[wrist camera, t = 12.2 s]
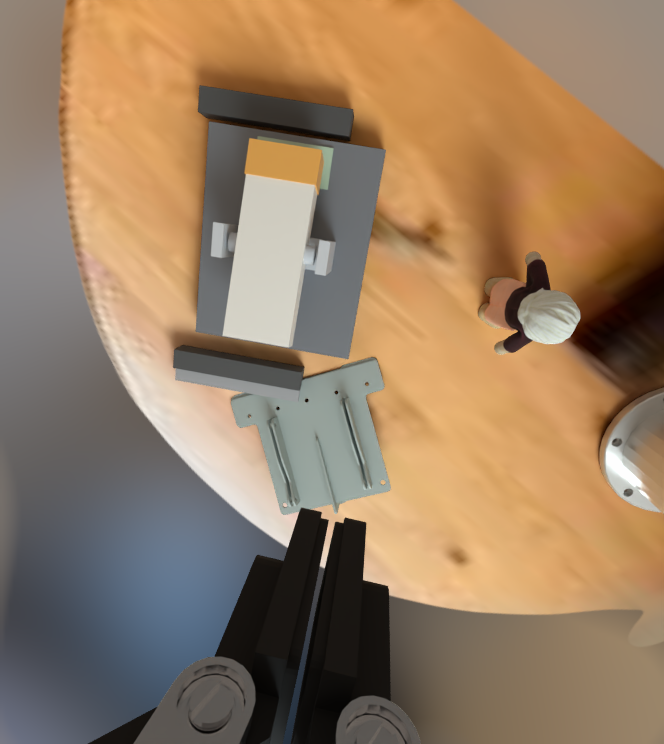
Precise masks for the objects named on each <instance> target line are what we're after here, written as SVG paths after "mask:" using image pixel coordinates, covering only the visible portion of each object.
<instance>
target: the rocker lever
mask: <svg viewBox="0 0 664 744" xmlns="http://www.w3.org/2000/svg"><path fill="white" fill-rule="evenodd" d="M323 166H324V159H323V153H322V150H320V149H314V148H307V147H301V146H295V145H289V144H283V143H276V142H270V141H264V140H258V139H252V138H249V145H248V152H247V159H246V165H245V172H244V173H245V175H246V178H245V185H244V192H243V199H242V205H241V212H240V219H239V226H238V233H234V232H231V233H230V235H229V238H228V249H229V251H231V252H235V253H234V260H233V267H232V274H231V281H230V288H229V294H228V301H227V308H226V315H225V322H224V329H223V335H222V336H226V337H232V338H238V339H243V340H249V341H254V342H260V343H266V344H271V345H277V346H282V347H292V345H293V339H294V333H295V327H296V321H297V314H298V308H299V302H300V296H301V290H302V284H303V278H304V272H305V266H306V264H307V265H314V263H315V258H316V250H317V248H316V246H311V245H309V242H310V236H311V230H312V223H313V217H314V211H315V205H316V199H317V194H318V195H319V190H320V184H321V178H322V172H323Z"/></svg>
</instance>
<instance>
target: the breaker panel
mask: <svg viewBox="0 0 664 744" xmlns="http://www.w3.org/2000/svg"><path fill="white" fill-rule="evenodd" d="M249 138H252V139H258V140H264V141H270V142H276V143H283V144H289V145H295V146H301V147H307V148H314V149H320V150H322V153H323V159H324V166H323V172H322V178H321V184H320V190H319V195H318V194H317V199H316V205H315V211H314V217H313V223H312V230H311V236H310V242H309V245H311V246H316V248H317V250H316V258H315V263H314V265H307V264H306V266H305V272H304V278H303V284H302V290H301V296H300V302H299V308H298V314H297V321H296V327H295V333H294V339H293V345H292V347H283V348H289V349H294V350H300V351H306V352H311V353H317V354H322V355H328V356H334V357H339V358H345V359H348V358H349V353H350V347H351V342H352V336H353V330H354V325H355V319H356V314H357V308H358V303H359V297H360V291H361V286H362V280H363V275H364V269H365V264H366V258H367V252H368V247H369V241H370V236H371V230H372V225H373V219H374V213H375V208H376V202H377V197H378V191H379V186H380V180H381V174H382V169H383V163H384V158H385V152H386V150H383V149H377V148H371V147H365V146H359V145H352V144H346V143H340V142H334V141H327V140H321V139H315V138H309V137H303V136H296V135H290V134H284V133H278V132H272V131H265V130H259V129H253V128H247V127H240V126H234V125H228V124H222V123H216V122H209V130H208V146H207V162H206V178H205V193H204V209H203V225H202V241H201V256H200V272H199V288H198V304H197V320H196V332H200V333H205V334H211V335H216V336H222V335H223V329H224V322H225V315H226V308H227V301H228V294H229V288H230V281H231V274H232V267H233V260H234V253H235V252H231V251H229V249H228V238H229V235H230V233H231V232H234V233H238V226H239V219H240V212H241V205H242V199H243V192H244V185H245V178H246V175H245V173H244V172H245V165H246V159H247V152H248V145H249ZM222 337H226V336H222ZM227 338H232V337H227ZM233 339H238V338H233ZM239 340H243V339H239ZM244 341H249V340H244ZM250 342H254V341H250ZM255 343H260V342H255ZM261 344H266V343H261ZM267 345H271V344H267ZM272 346H277V345H272ZM278 347H282V346H278Z"/></svg>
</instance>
